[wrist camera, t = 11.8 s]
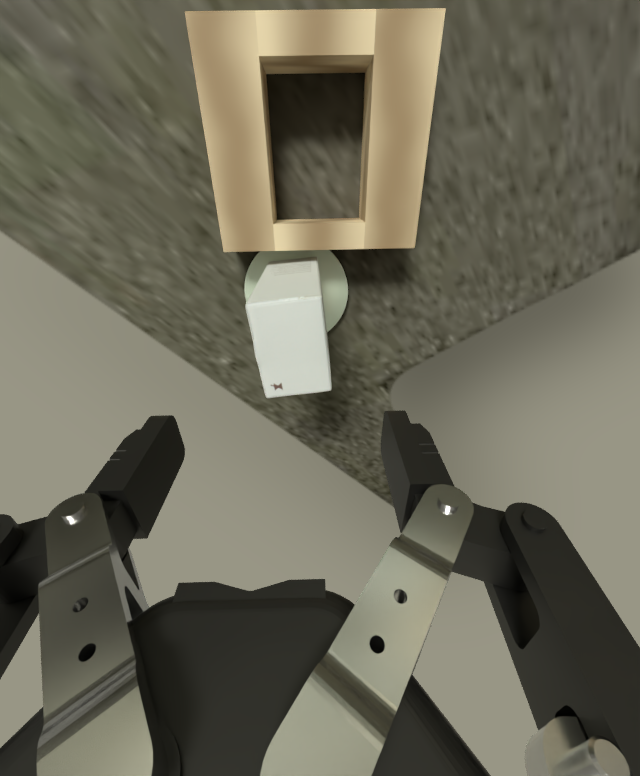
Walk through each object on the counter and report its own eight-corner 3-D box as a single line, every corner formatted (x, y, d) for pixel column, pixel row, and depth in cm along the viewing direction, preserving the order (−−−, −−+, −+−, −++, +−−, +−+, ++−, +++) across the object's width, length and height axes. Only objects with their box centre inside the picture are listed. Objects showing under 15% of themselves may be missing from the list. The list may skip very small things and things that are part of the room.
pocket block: (425, 33, 20) (445, 8, 17) (403, 240, 27) (414, 247, 24) (203, 36, 20) (184, 11, 17) (233, 244, 27) (223, 252, 24)
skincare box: (325, 323, 30) (333, 394, 20) (279, 328, 30) (263, 401, 20) (318, 253, 27) (323, 295, 16) (267, 259, 27) (240, 304, 17)
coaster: (348, 235, 26) (349, 236, 26) (346, 337, 31) (346, 340, 31) (238, 237, 26) (237, 238, 26) (252, 340, 31) (251, 342, 31)
